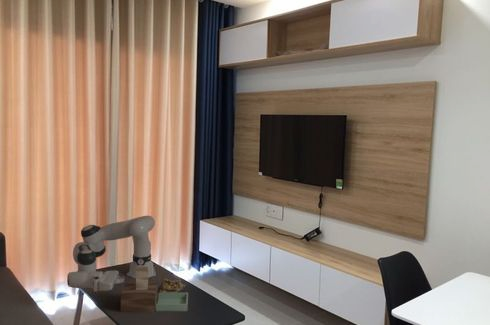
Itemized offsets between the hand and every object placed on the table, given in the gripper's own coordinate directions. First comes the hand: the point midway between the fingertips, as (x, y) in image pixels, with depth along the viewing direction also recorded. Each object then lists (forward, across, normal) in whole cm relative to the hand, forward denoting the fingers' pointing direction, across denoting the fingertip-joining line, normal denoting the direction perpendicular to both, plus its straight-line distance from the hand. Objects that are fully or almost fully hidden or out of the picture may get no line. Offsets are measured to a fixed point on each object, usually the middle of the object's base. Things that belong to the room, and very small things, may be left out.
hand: (124, 280), depth 230 cm
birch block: (+10, -2, -5) cm, 11 cm away
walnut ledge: (+9, -2, -15) cm, 18 cm away
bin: (+27, -2, -15) cm, 31 cm away
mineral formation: (+25, -19, -15) cm, 35 cm away
